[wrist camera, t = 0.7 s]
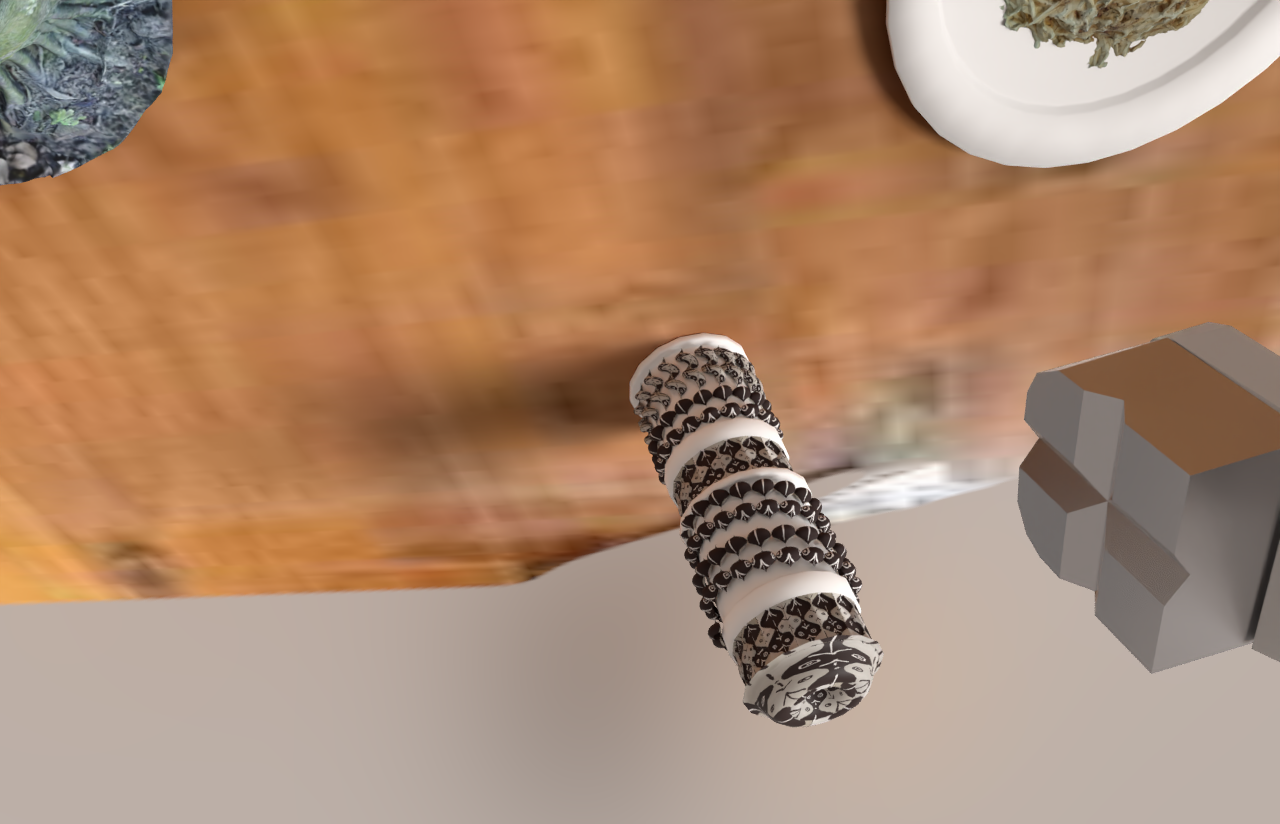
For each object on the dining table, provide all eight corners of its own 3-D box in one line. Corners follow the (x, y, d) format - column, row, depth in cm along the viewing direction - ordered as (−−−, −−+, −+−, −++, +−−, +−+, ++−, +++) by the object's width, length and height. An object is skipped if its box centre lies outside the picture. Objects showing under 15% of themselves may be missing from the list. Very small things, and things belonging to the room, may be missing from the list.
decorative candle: (734, 422, 86) (872, 734, 69) (611, 430, 83) (725, 758, 66) (770, 327, 79) (930, 644, 63) (638, 331, 76) (771, 666, 60)
